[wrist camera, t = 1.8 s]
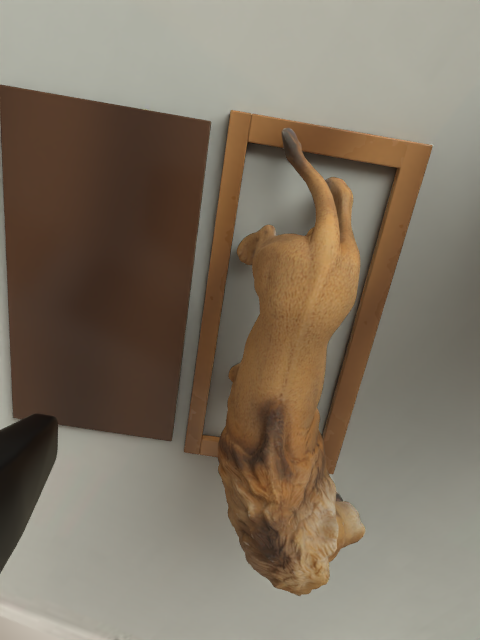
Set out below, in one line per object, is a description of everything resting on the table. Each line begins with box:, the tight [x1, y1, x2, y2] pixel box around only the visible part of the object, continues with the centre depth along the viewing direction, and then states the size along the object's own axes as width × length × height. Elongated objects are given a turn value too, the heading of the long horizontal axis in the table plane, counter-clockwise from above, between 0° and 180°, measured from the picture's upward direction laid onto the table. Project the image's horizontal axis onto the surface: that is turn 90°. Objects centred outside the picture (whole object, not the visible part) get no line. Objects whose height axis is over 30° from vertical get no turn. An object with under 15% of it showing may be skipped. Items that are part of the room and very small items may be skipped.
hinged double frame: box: [0, 85, 432, 474], centre depth 19 cm, size 16×16×1 cm
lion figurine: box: [218, 128, 365, 596], centre depth 15 cm, size 15×5×9 cm, turn 2°
